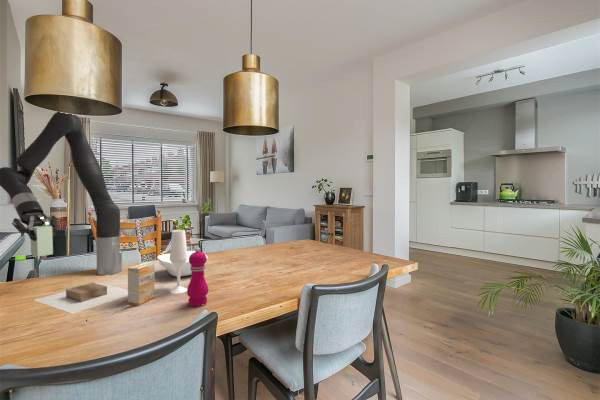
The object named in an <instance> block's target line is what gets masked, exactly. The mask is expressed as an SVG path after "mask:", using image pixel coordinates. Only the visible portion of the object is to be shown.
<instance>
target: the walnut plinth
mask: <svg viewBox="0 0 600 400" xmlns="http://www.w3.org/2000/svg"><path fill="white" fill-rule="evenodd" d="M96 283H97V282H96ZM96 283H95V282H90V283H89V282H88V283H86V284H82V285H78V286H74V287H70V288H66V289H65V291H66V298H68V299H71V300H74V301H78V302H84V301H87V300H90V299H94V298H97V297H100V296H103V295H107V286H103V285H100V284H96Z"/></svg>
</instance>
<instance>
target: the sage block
mask: <svg viewBox="0 0 600 400" xmlns="http://www.w3.org/2000/svg"><path fill="white" fill-rule="evenodd" d="M33 230H34V232H35V234H36V236H37V239H36V241H33V240H31V239H30V255H31V256H32V257H37V258H39V257H45V256H49V255H53V254H54V244H53V242H54V241H53V240H54V238H52V227H51V226H36V227H33Z"/></svg>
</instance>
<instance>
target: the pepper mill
mask: <svg viewBox="0 0 600 400" xmlns="http://www.w3.org/2000/svg"><path fill="white" fill-rule="evenodd" d="M194 251H196V252H194V253H192V254H191V255H190V257H189V263H190V264H191V266H190V268H191V269H190V270H191V271H192V274H191V278H190V281H189V283H188V286H187V288H186V289H187V291H186V295H187V296H188V306H190V305H191V306H190V307H200V306H199V305H202V304H205V303H206V302H208V297H207V295H208V293H209V286H208V284H207V281H206V279H205V273H204V272H205V269H206V265H205V264H206V263H207V261H208V259H207V257H206V255H207V254H206V253H204V252H203V251H201V248H200V247H196V248H195V249H194ZM205 254H206V255H205ZM206 304H207V303H206ZM206 304H205V305H206ZM202 306H203V305H202Z"/></svg>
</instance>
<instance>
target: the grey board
mask: <svg viewBox="0 0 600 400" xmlns="http://www.w3.org/2000/svg"><path fill="white" fill-rule="evenodd" d="M96 284H100V285H103V286H107V295H103V296H100V297H97V298H94V299H90V300H87V301H84V302H78V301H74V300H71V299H68V298H66V290H65V291H62V292H59V293H54V294H51V295H47V296H43V297H40V298H35V299H33V302H37V303H40V304H43V305H45V306H49V307H52V308H55V309H57V310H60V311H62V312H66V313H69V314H72V315H73V314H76V313H80V312H82V311H86V310H88V309H91V308H95V307H98V306H100V305H103V304H107V303H109V302H112V301H115V300H119V299H122V298H124V297H128V289H124V288H121V287H116V286H113V285H110V284H106V283H105V284H104V283H101V282H96Z"/></svg>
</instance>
